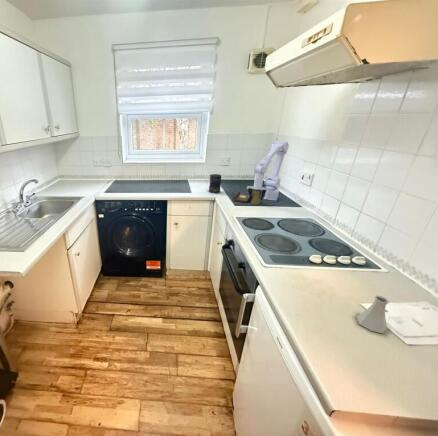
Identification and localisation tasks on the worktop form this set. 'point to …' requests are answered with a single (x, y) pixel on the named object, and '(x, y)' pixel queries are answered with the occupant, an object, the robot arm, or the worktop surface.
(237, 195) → the shelf
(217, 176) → the storage jar
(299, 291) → the worktop surface
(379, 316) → the flask
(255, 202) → the olive door knob
